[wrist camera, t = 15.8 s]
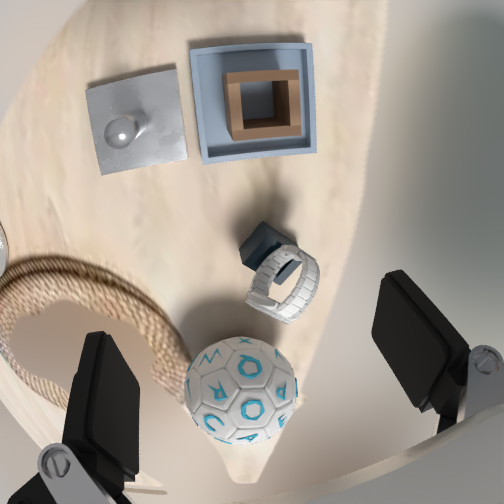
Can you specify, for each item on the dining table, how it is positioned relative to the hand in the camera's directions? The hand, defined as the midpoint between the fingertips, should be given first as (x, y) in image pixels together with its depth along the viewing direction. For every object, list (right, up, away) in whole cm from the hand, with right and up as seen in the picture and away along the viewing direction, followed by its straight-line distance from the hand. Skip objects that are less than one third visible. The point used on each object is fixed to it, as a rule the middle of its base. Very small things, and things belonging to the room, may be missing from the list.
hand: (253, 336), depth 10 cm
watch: (+2, +3, +27) cm, 27 cm away
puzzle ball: (-3, -12, +35) cm, 37 cm away
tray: (0, +18, +18) cm, 25 cm away
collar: (0, +17, +17) cm, 25 cm away
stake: (-11, +15, +17) cm, 26 cm away
